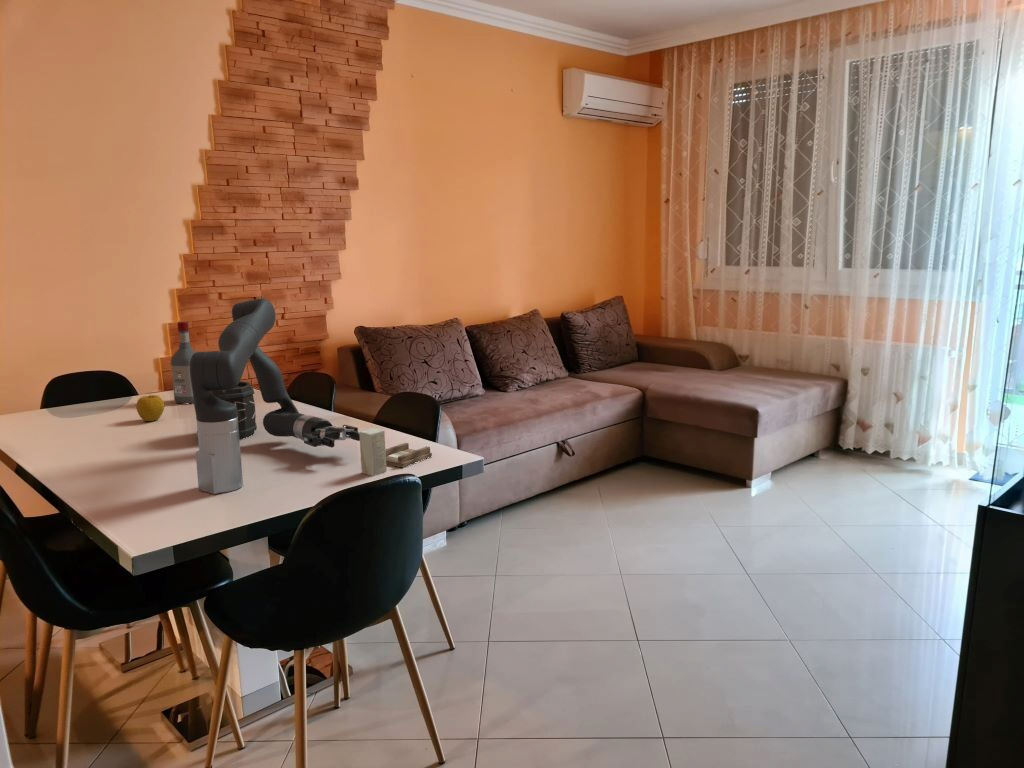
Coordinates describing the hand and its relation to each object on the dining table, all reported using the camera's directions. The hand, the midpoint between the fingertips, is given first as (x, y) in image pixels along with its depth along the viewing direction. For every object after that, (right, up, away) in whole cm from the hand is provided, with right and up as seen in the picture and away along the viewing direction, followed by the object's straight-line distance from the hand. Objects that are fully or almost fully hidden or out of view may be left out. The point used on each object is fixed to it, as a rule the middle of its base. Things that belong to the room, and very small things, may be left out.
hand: (346, 440), depth 198 cm
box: (+8, -8, -6) cm, 13 cm away
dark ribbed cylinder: (-44, -1, +32) cm, 54 cm away
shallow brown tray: (+14, -6, +5) cm, 16 cm away
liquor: (-77, +8, +83) cm, 114 cm away
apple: (-77, +2, +52) cm, 93 cm away
